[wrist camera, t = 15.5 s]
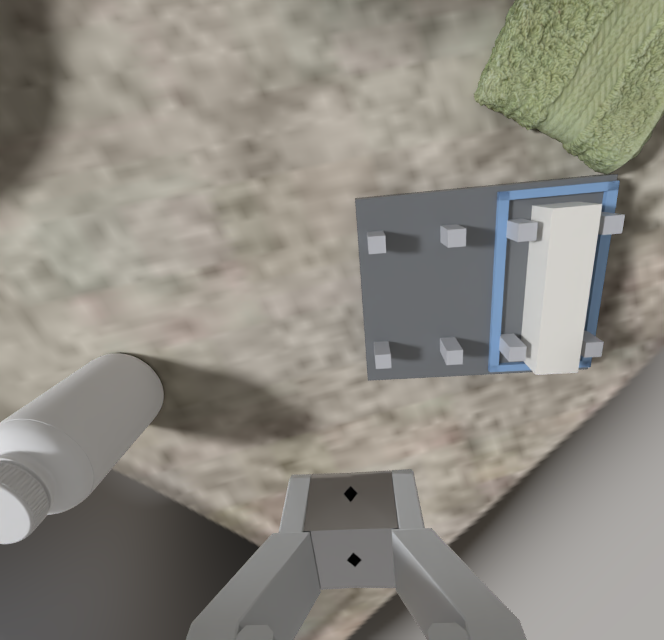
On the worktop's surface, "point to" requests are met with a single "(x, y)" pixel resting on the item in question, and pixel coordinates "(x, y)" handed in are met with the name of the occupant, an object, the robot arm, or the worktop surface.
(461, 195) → the board
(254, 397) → the worktop surface
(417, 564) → the robot arm
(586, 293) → the bar
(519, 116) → the washcloth
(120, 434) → the pill bottle
